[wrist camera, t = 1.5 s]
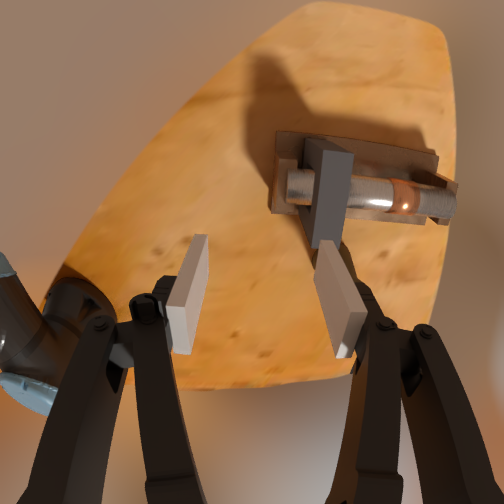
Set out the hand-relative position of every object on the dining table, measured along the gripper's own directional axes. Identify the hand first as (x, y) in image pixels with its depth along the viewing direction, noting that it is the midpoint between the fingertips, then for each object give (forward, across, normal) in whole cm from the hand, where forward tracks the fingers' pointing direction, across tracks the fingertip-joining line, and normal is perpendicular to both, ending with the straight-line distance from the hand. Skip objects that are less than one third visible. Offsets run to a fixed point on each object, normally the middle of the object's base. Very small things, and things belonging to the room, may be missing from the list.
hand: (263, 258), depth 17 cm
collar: (+21, +7, 0) cm, 23 cm away
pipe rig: (+23, +14, 0) cm, 27 cm away
